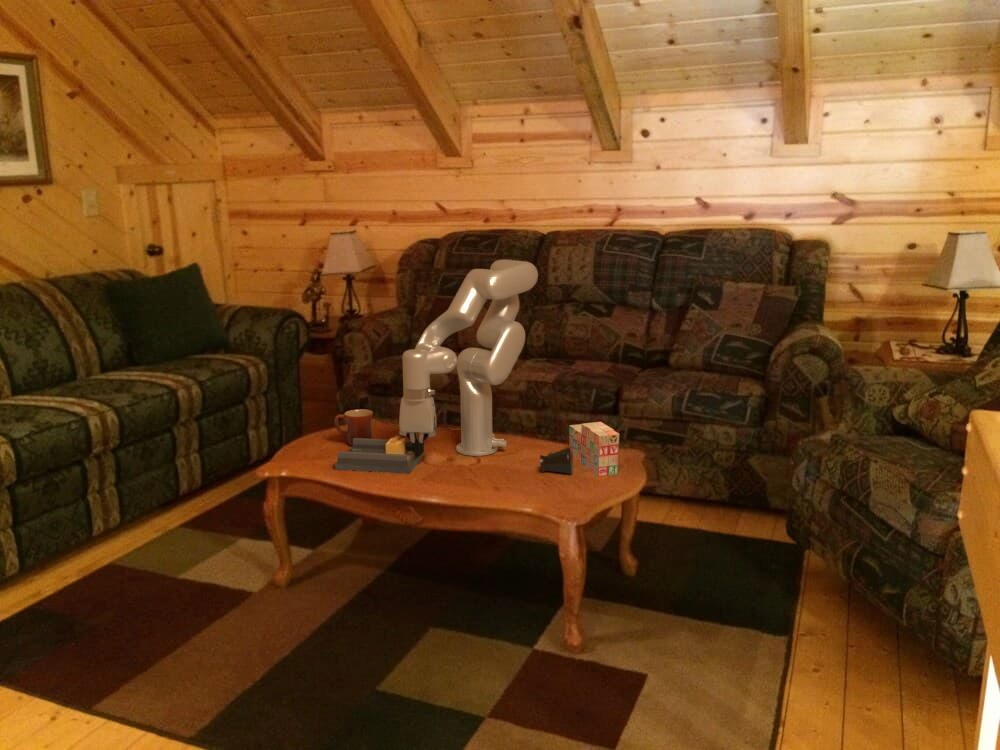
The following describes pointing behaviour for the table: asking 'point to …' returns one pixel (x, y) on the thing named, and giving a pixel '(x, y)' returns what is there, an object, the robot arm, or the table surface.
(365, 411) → the mug
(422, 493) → the table surface
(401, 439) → the cheese wedge
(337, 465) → the panel
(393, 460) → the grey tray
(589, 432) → the stack of blocks
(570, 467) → the black tapered piece
